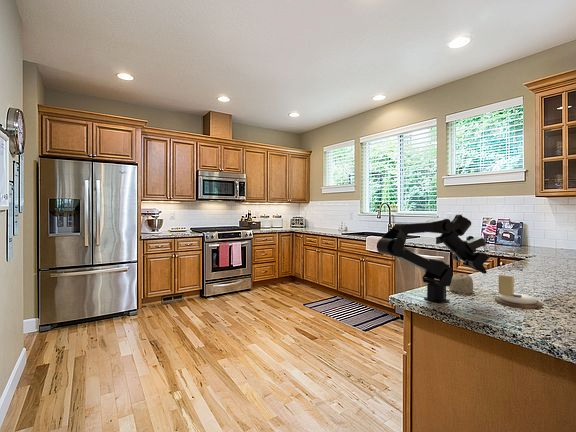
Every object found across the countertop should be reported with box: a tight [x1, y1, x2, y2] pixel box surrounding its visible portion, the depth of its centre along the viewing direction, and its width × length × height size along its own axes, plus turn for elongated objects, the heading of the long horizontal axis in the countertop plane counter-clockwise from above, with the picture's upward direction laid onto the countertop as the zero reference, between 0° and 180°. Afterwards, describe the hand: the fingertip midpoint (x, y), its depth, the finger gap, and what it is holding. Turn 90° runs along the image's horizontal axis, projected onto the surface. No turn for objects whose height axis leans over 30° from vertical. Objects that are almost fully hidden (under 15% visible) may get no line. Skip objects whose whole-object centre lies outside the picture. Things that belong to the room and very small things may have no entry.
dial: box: [498, 273, 538, 304], centre depth 112 cm, size 11×12×8 cm
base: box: [494, 295, 543, 310], centre depth 112 cm, size 14×14×1 cm
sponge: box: [448, 273, 474, 294], centre depth 131 cm, size 9×10×10 cm
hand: (485, 273), depth 117 cm, fingers closed
